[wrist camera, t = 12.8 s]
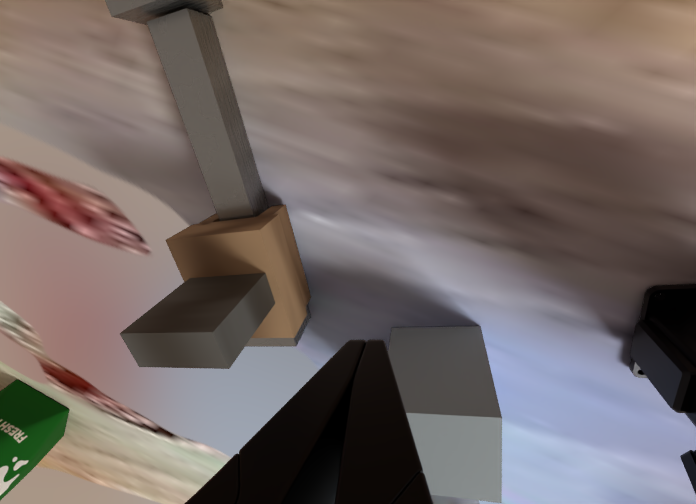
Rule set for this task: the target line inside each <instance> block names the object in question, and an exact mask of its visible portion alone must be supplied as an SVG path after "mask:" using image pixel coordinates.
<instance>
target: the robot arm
mask: <svg viewBox="0 0 696 504" xmlns="http://www.w3.org/2000/svg"><path fill="white" fill-rule="evenodd" d="M660 293H661V295H659V296H658V297H655V296H656V295H657V294H660ZM630 356H631V362H630V370H631V372H632V373H633V374H634V376H636V377H639V378H648V379H649V380H650V382H651V383H652V384H653V385H654V387H655V388H656V389H657V391H658V392H659V393H660V395H661V396H662V397H663V398H664V400H665V401H666V402H667V404H668V405H669V406H670V407H671V408H672V409H673V410H674V411H676V412H677V413H685V414H686V415H687V416H688V418H689V419H690V420H691V421H692V423H693V424H694V425H695V426H696V284H685V285H662V286H653V287H651V288H649V289H648V290H647V291H646V293H645V296H644V301H643V306H642V310H641V315H640V320H639V321H638V322H637V323H636V327H635V332H634V337H633V342H632V346H631V351H630ZM640 369H641V370H640ZM680 457H681V460H682V462H683V464H684V467H685V469H686V472H687V474H688V476H689V479H690V481H691V484H692V486H693V489H694V491H695V493H696V450H695V451H692V450H690V451H688V452H686V453H685V454H683V455H681V456H680ZM185 504H434V503H433V500H432V497H431V494H430V490H429V487H428V484H427V480H426V477H425V474H424V473H423V468H422V464H421V461H420V458H419V454H418V451H417V448H416V444H415V441H414V438H413V434H412V431H411V428H410V424H409V421H408V418H407V414H406V411H405V407H404V404H403V401H402V397H401V394H400V391H399V387H398V384H397V381H396V377H395V374H394V371H393V367H392V364H391V361H390V357H389V354H388V350H387V347H386V344H385V341H384V340H368V341H366V340H349V341H348V342H347V343H346V344H345V345H344V346H343V347H342V348H341V349H340V350H339V351H338V352H337V353H336V354H335V355H334V356H333V357H332V358H331V359H330V360H329V361H328V362H327V363H326V364H325V365H324V366H323V367H322V368H321V369H320V370H319V371H318V372H317V373H316V374H315V375H314V376H313V377H312V378H311V379H310V380H309V381H308V382H307V383H306V384H305V385H304V386H303V387H302V388H301V389H300V390H299V391H298V392H297V393H296V394H295V395H294V396H293V397H292V398H291V399H290V400H289V401H288V402H287V403H286V404H285V405H284V406H283V407H282V408H281V409H280V410H279V411H278V412H277V413H276V414H275V415H274V416H273V417H272V418H271V419H270V420H269V421H268V422H267V423H266V424H265V425H264V426H263V427H262V428H261V429H260V431H258V432H257V433H256V434H255V436H253V437H252V439H250V440H249V442H247V443H246V444H245V446H243V448H242V449H241V450H240V451H239V454H235V455H234V456H233V457H232V458H231V459H230V460H229V461H228V462H227V463H226V464H225V465H224V466H223V467H222V468H221V469H220V470H219V471H218V472H217V473H216V474H215V475H214V476H213V477H212V478H211V479H210V480H209V481H208V482H207V483H206V484H205V485H204V486H203V487H202V488H201V489H200V490H199V491H198V492H197V493H196V494H195V495H194V496H192V497H191V498H190V499H189V500H188V501H187V502H186V503H185Z"/></svg>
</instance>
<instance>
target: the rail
mask: <svg viewBox="0 0 696 504" xmlns="http://www.w3.org/2000/svg"><path fill="white" fill-rule="evenodd" d="M105 2H106V4H107V7H108V9H109V12H110V14H111V17H116V18H120V19H124V20H128V21H132V22H137V23H141V24H145V25H148V27H149V30H150V33H151V35H152V38H153V41H154V43H155V46H156V49H157V52H158V54H159V57H160V60H161V62H162V65H163V68H164V71H165V73H166V76H167V79H168V81H169V84H170V87H171V90H172V92H173V95H174V98H175V100H176V103H177V106H178V109H179V111H180V114H181V117H182V119H183V122H184V125H185V128H186V130H187V133H188V136H189V139H190V141H191V144H192V147H193V149H194V152H195V155H196V158H197V160H198V163H199V166H200V168H201V171H202V174H203V177H204V179H205V182H206V185H207V187H208V190H209V193H210V196H211V198H212V201H213V204H214V206H215V209H216V212H217V215H218V217H219V220H220V221H227V220H235V219H244V218H252V217H258V216H259V215H260V214H262V213H263V212H264V211H266V210H267V209H268V205H267V201H266V198H265V195H264V191H263V188H262V185H261V181H260V178H259V174H258V171H257V168H256V164H255V161H254V158H253V154H252V151H251V148H250V144H249V141H248V138H247V134H246V131H245V128H244V124H243V121H242V118H241V114H240V111H239V108H238V104H237V101H236V98H235V94H234V91H233V87H232V84H231V81H230V77H229V74H228V71H227V67H226V64H225V61H224V57H223V54H222V51H221V47H220V44H219V41H218V37H217V34H216V31H215V27H214V24H213V21H212V17H211V16H208V15H205V14H206V13H209V12H212V11H215V10H218V9H221V8H223V6H222V2H221V0H105ZM306 311H307V315H306V317H305V319H304V321H303V323H302V325H301V326H300V328H299V330H298V332H297V334H296V336H295V338H250V340H249V341H248V343H247V344H246V346H297V344H298V342H299V340H300V338H301V336H302V334H303V332H304V330H305V328H306V326H307V324H308V322H309V320H310V318H311V316H310V312H309V309H308V305H306Z"/></svg>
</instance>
